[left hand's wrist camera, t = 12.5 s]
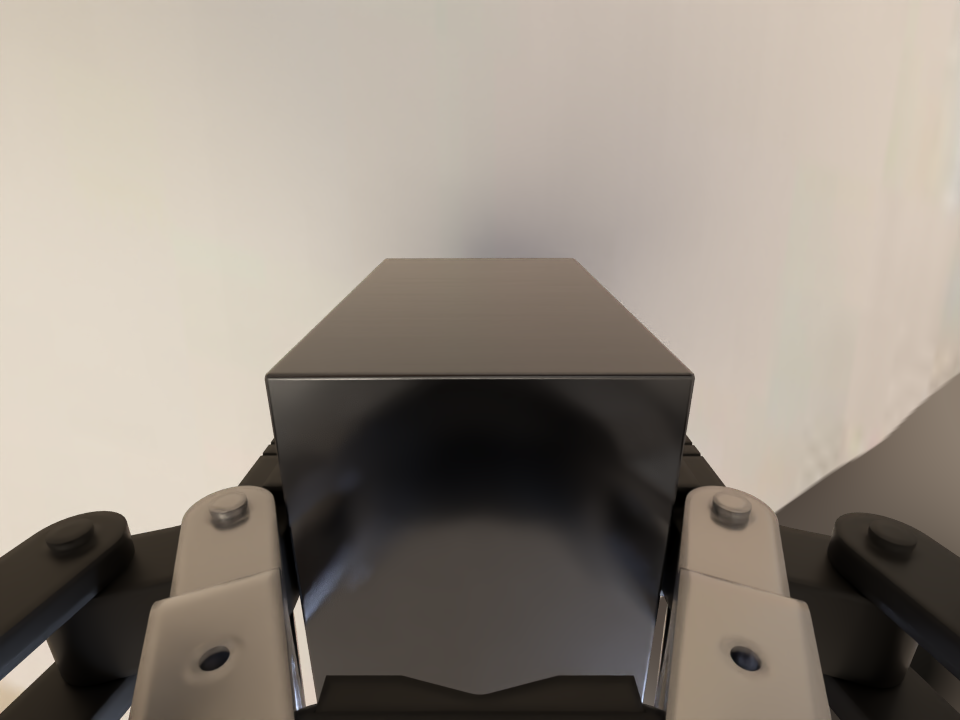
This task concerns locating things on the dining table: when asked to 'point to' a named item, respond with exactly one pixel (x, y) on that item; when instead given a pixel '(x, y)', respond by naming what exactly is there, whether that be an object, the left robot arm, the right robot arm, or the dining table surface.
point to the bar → (479, 475)
